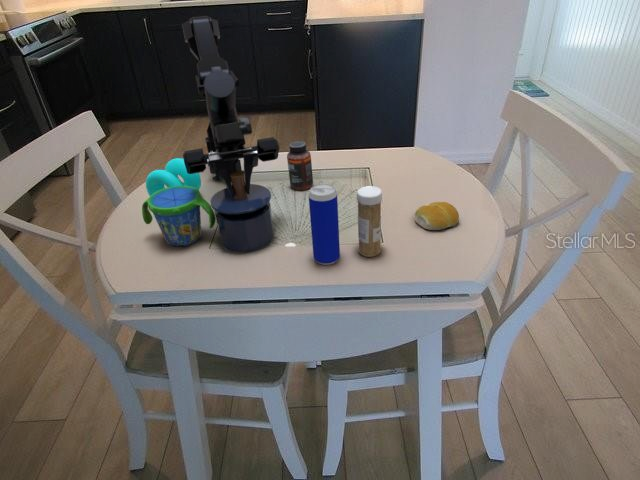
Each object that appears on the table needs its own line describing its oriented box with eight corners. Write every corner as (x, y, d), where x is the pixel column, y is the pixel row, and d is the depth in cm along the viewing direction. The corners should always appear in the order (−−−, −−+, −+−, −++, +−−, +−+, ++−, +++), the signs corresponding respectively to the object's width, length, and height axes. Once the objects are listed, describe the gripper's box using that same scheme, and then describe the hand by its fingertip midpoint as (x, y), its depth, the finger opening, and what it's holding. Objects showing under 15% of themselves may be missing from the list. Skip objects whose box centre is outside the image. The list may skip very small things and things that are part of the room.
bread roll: (465, 223, 98) (467, 206, 95) (431, 235, 94) (433, 218, 92) (440, 207, 104) (441, 191, 102) (407, 218, 101) (408, 202, 99)
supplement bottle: (314, 180, 120) (311, 139, 114) (312, 191, 115) (308, 148, 109) (292, 181, 120) (287, 139, 114) (288, 191, 115) (283, 148, 109)
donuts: (149, 208, 112) (138, 170, 107) (174, 190, 120) (165, 154, 114) (183, 213, 109) (173, 175, 103) (206, 195, 116) (199, 158, 111)
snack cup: (227, 229, 101) (219, 188, 96) (203, 256, 93) (193, 212, 88) (167, 222, 106) (156, 182, 100) (139, 246, 97) (125, 204, 92)
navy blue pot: (211, 247, 96) (204, 216, 92) (238, 221, 104) (233, 192, 100) (258, 256, 92) (252, 224, 88) (282, 228, 100) (279, 198, 96)
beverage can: (343, 253, 91) (340, 184, 83) (335, 267, 87) (331, 197, 79) (318, 249, 93) (313, 182, 84) (310, 264, 89) (303, 194, 80)
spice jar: (384, 255, 89) (385, 194, 82) (361, 259, 89) (361, 197, 81) (376, 243, 93) (377, 183, 86) (355, 247, 93) (353, 187, 85)
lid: (199, 212, 91) (192, 184, 87) (231, 185, 100) (227, 159, 97) (253, 221, 87) (248, 192, 83) (281, 192, 96) (278, 165, 93)
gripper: (172, 110, 84) (188, 189, 81) (271, 96, 88) (290, 171, 85) (180, 137, 95) (194, 208, 92) (268, 124, 99) (285, 191, 96)
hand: (240, 194), depth 91 cm, fingers closed on lid, 3 cm apart
